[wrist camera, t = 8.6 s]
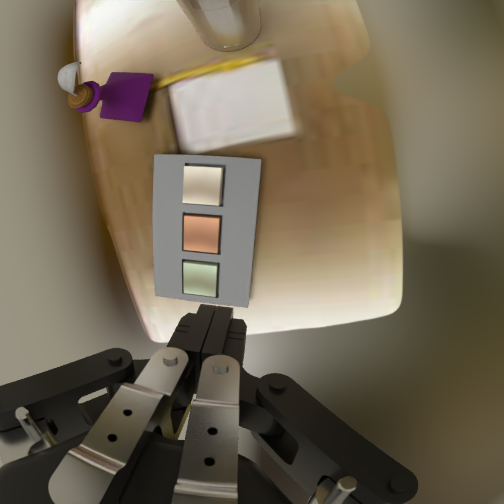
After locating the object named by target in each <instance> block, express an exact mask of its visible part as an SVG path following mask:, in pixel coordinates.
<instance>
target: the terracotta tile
mask: <svg viewBox="0 0 504 504" xmlns="http://www.w3.org/2000/svg"><path fill="white" fill-rule="evenodd" d="M221 217H222V216H218V215H206V214H193V213H187V214H186V215H185V216H184V250H191V251H200V252H210V253H218V251H219V249H220V234H221Z"/></svg>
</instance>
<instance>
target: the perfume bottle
mask: <svg viewBox="0 0 504 504" xmlns="http://www.w3.org/2000/svg"><path fill="white" fill-rule="evenodd" d="M79 64H81V62H74V63H71V64H69V65H66V66H64V67H63V68H62V69H61V70H60V71H59V73H58V82H59V84H60V86H61V87H62V89H64V90H66V91H68V92H70V93H69V95H68V103H69V106H71V107H73V108H76V109H77V110H78V111H80V112H82V113H84V112H90V111H91V110H92V109H94V108H95V107H96V106H97V104H98V102H99V101H100V100H102V108H101V113H100V118H105V119H115V120H125V121H133V122H141V121H142V117H143V113H144V109H145V105H146V101H147V97H148V94H149V90H150V86H151V83H152V79H153V74H146V73H124V72H112V73H111V74H110V77H109V79H108V81H107V83H106V84H105V85H103V86H99V84H98V83H96V82H94V81H88V82H84V83H83V84H80V85H77V86H75V76H76V70H77V67H78V65H79ZM74 86H75V87H74Z"/></svg>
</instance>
